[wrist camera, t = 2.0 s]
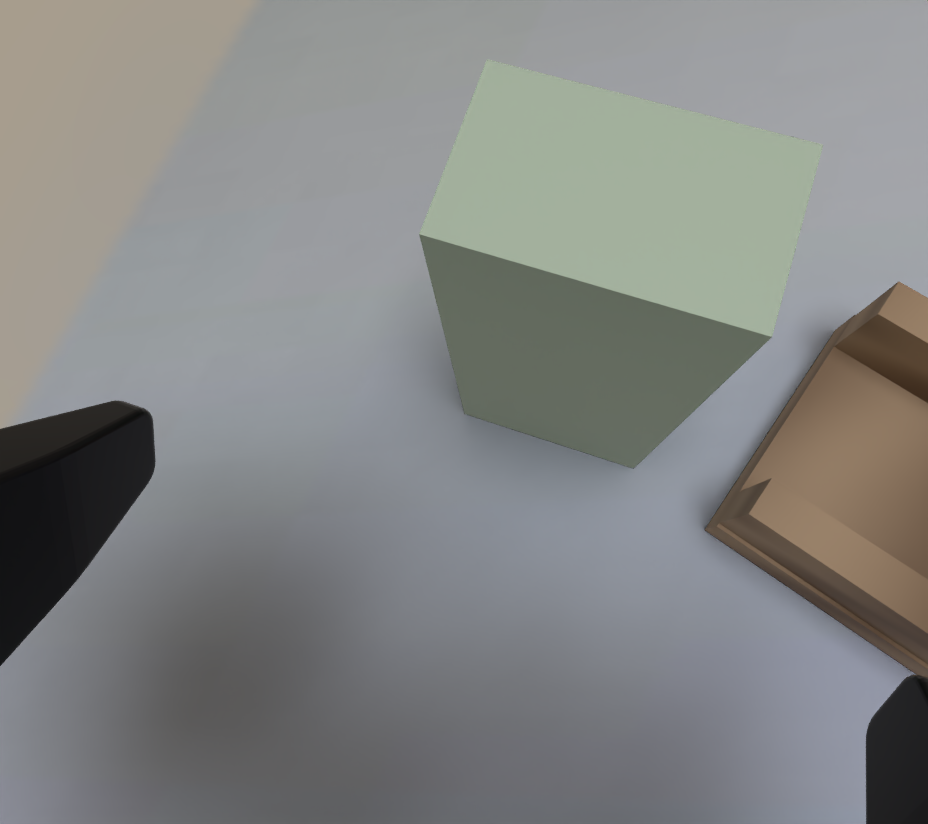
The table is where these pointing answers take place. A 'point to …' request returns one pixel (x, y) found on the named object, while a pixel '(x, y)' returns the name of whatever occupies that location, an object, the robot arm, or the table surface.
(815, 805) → the table surface
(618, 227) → the pale green rectangular block
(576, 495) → the table surface
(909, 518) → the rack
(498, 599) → the table surface
